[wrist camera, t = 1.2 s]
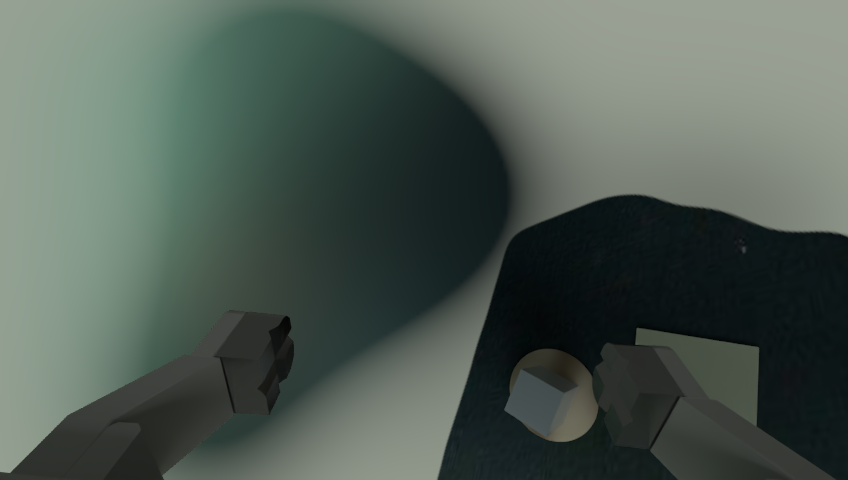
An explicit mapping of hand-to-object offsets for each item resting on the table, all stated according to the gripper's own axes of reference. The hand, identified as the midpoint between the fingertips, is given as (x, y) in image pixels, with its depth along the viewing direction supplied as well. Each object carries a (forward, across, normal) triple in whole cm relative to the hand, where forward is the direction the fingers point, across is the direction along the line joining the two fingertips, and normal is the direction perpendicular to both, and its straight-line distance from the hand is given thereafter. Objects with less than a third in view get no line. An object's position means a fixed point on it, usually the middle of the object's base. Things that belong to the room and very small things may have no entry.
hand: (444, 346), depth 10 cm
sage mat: (+20, -26, +22) cm, 40 cm away
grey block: (+24, -15, +28) cm, 40 cm away
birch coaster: (+24, -15, +28) cm, 40 cm away
